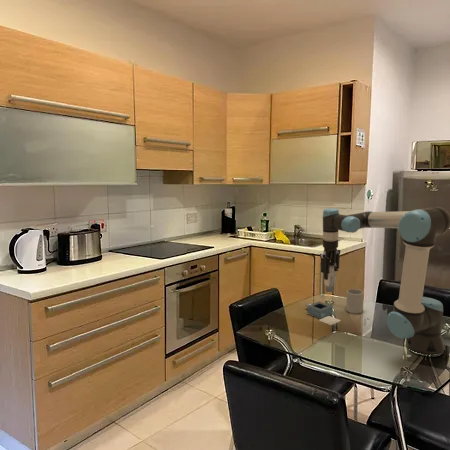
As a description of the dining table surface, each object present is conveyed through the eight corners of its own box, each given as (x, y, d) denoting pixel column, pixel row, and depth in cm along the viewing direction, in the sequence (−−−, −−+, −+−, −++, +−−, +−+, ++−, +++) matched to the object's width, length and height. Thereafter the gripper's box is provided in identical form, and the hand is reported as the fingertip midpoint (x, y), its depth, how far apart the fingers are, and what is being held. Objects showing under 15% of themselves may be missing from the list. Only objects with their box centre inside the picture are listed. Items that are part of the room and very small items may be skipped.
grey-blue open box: (332, 314, 219) (332, 306, 218) (321, 319, 214) (321, 311, 213) (312, 306, 230) (312, 298, 230) (300, 311, 225) (300, 303, 224)
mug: (365, 312, 219) (366, 293, 217) (351, 314, 218) (351, 295, 215) (354, 304, 231) (354, 285, 229) (340, 306, 229) (340, 287, 227)
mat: (340, 321, 210) (340, 320, 210) (330, 325, 206) (330, 325, 206) (328, 316, 217) (328, 315, 217) (318, 320, 212) (318, 319, 212)
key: (327, 288, 212) (327, 259, 209) (337, 291, 207) (337, 262, 204) (322, 290, 209) (322, 261, 206) (332, 293, 204) (332, 264, 201)
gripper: (335, 235, 210) (334, 278, 215) (313, 241, 201) (313, 286, 205) (347, 237, 205) (346, 282, 209) (325, 243, 195) (324, 290, 199)
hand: (329, 284), depth 207 cm, fingers closed on key, 4 cm apart
